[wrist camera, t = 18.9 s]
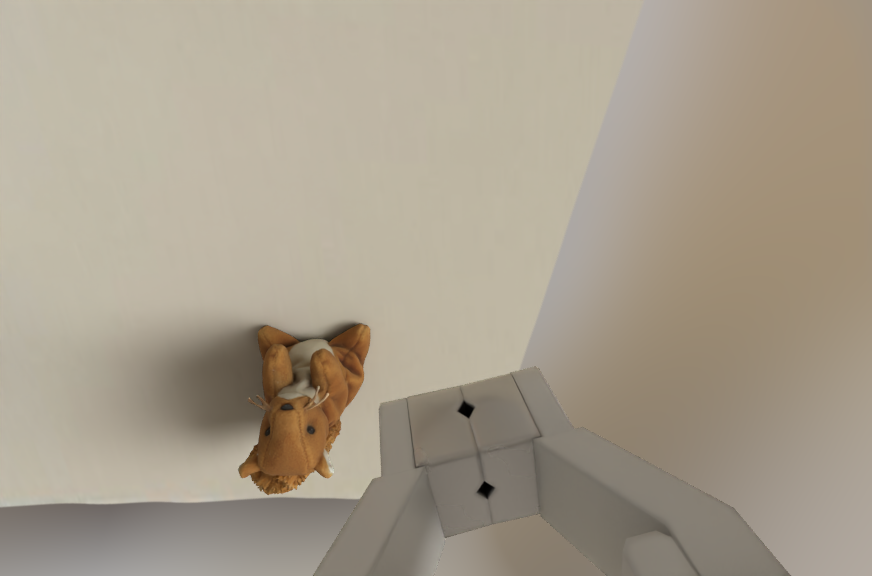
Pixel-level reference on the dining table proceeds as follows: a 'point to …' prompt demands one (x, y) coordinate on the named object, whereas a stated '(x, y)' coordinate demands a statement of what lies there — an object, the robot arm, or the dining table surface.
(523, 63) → the dining table surface
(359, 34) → the dining table surface
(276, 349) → the stuffed squirrel
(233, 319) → the dining table surface
